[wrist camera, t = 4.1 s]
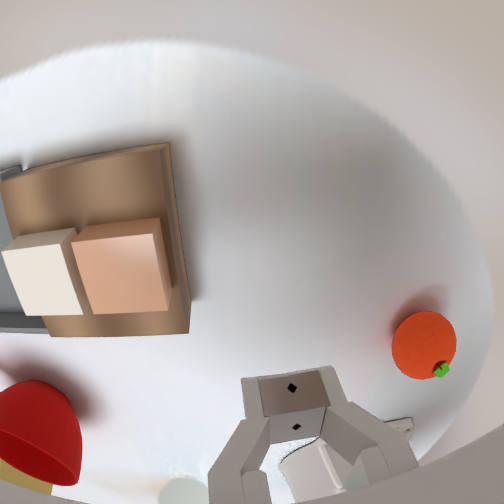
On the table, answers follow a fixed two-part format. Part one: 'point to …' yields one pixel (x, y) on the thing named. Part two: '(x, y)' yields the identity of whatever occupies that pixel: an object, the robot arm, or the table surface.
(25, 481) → the cheese
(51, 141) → the table surface
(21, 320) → the tray
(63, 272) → the tile
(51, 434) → the ceramic cup
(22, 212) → the walnut block
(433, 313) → the clementine
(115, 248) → the tile
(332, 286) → the table surface
